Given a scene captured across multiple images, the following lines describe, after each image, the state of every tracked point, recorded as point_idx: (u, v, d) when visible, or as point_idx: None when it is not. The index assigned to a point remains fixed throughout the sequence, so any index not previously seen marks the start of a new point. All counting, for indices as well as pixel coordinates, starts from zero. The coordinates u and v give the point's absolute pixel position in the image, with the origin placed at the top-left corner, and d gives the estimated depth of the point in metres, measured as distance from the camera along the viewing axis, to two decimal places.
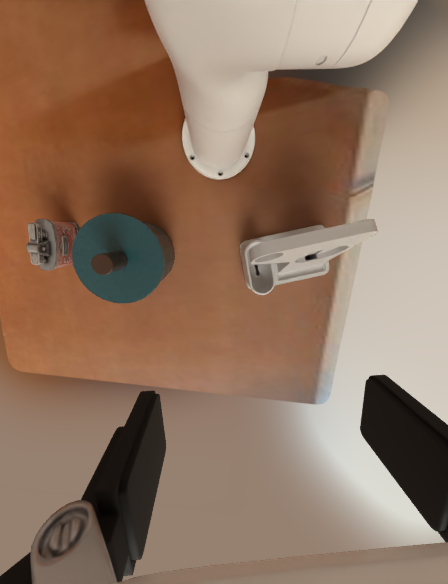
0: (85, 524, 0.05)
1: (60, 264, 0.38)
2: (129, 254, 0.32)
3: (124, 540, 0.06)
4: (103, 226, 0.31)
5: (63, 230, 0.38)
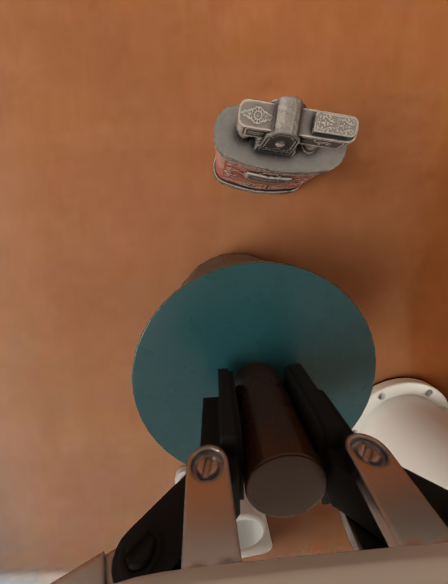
0: (220, 460, 0.07)
1: (224, 161, 0.15)
2: None
3: None
4: (347, 355, 0.12)
5: (300, 179, 0.17)
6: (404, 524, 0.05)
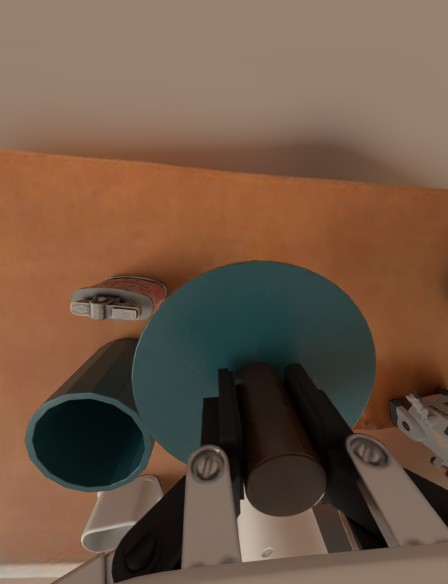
0: (220, 460, 0.07)
1: None
2: None
3: None
4: (347, 354, 0.12)
5: None
6: (404, 524, 0.05)
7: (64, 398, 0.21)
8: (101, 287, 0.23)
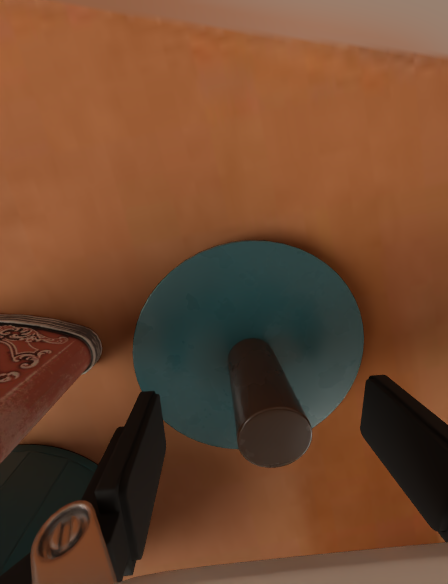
0: (85, 524, 0.05)
1: None
2: None
3: (125, 539, 0.06)
4: (337, 331, 0.12)
5: None
6: None
7: None
8: None
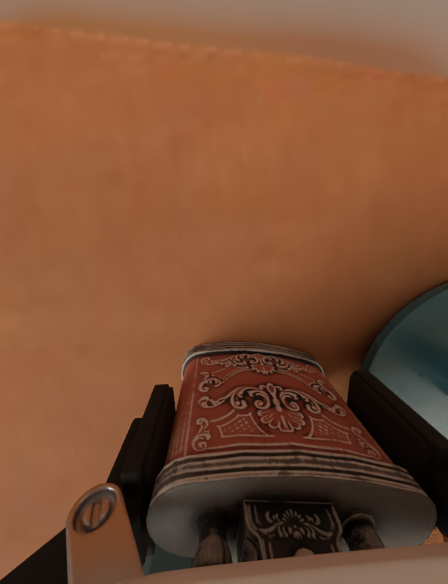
0: (114, 504, 0.06)
1: None
2: None
3: None
4: None
5: None
6: None
7: None
8: (260, 465, 0.06)
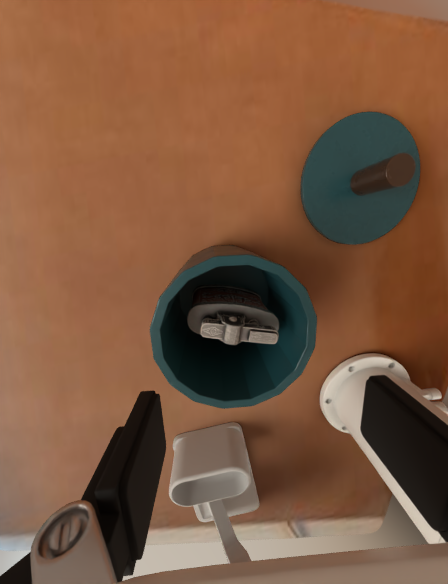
0: (85, 524, 0.05)
1: None
2: (366, 198, 0.24)
3: (125, 540, 0.06)
4: None
5: None
6: None
7: (213, 263, 0.15)
8: (222, 303, 0.19)
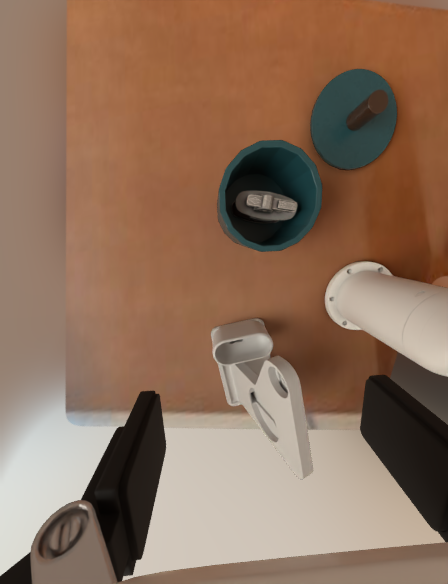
0: (85, 524, 0.05)
1: (239, 211, 0.31)
2: (358, 133, 0.34)
3: (124, 540, 0.06)
4: (386, 109, 0.33)
5: None
6: None
7: (259, 145, 0.24)
8: (259, 191, 0.29)
